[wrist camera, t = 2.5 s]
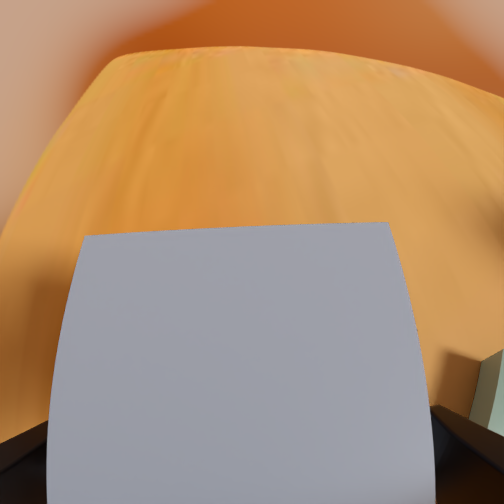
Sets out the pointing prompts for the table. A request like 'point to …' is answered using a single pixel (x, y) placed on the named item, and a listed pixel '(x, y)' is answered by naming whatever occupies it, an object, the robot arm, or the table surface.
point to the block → (240, 371)
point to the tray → (490, 394)
